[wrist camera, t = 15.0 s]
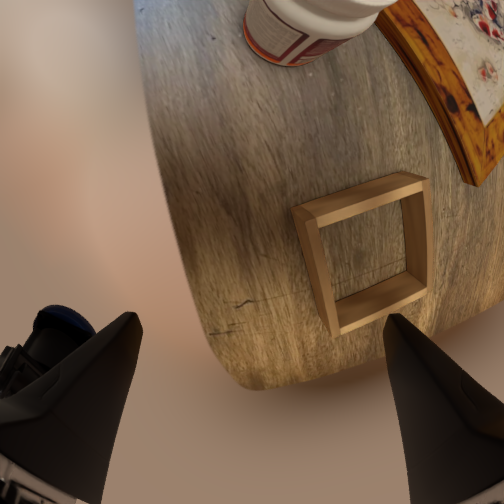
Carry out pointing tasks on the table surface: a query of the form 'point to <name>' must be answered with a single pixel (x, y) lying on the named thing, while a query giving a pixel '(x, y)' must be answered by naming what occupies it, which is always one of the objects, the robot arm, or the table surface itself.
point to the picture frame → (456, 72)
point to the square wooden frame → (389, 291)
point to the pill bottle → (306, 26)
